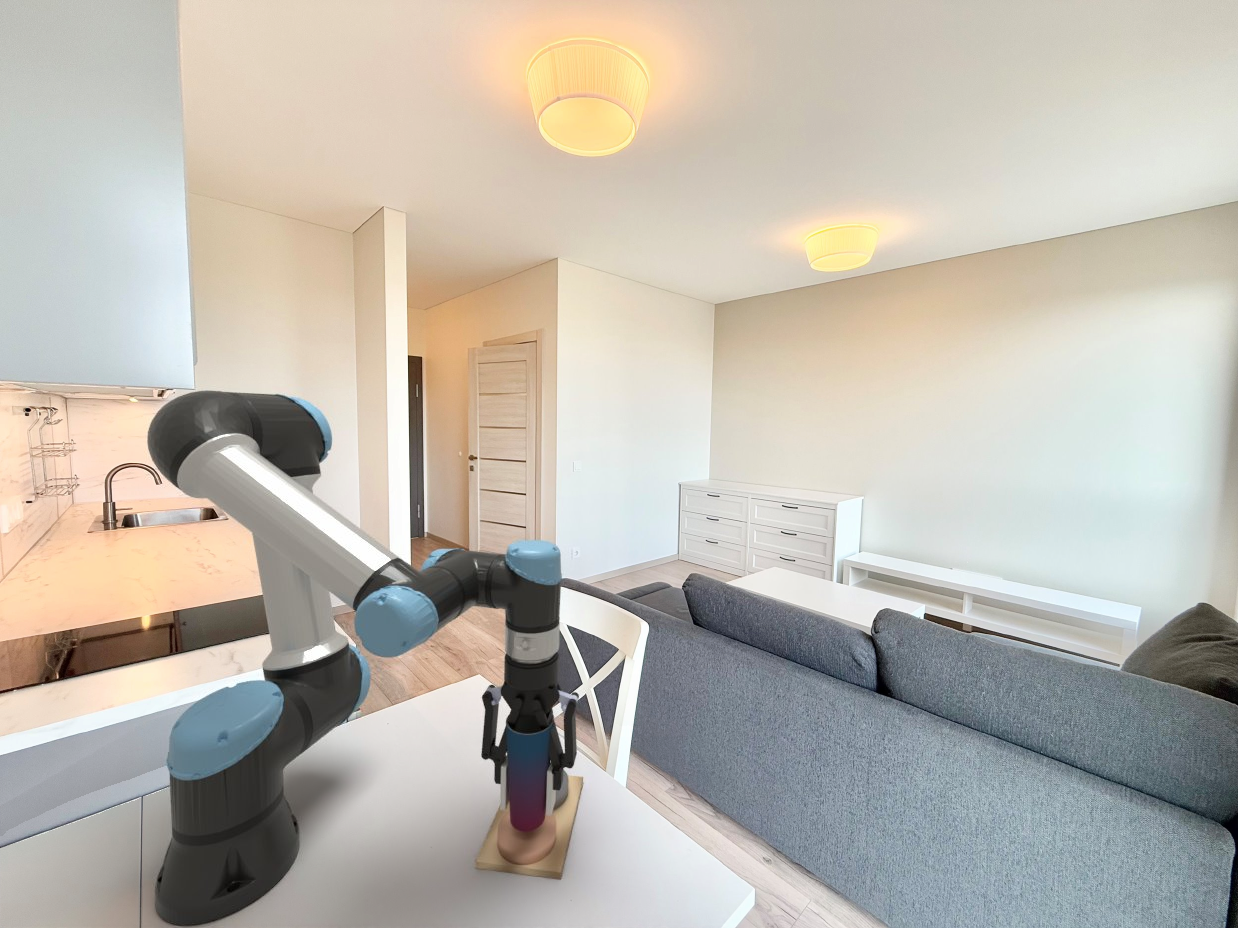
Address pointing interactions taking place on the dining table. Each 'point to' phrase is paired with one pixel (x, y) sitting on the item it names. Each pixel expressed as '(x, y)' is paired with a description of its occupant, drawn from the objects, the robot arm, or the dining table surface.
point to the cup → (527, 772)
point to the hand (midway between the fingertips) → (528, 804)
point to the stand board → (553, 858)
